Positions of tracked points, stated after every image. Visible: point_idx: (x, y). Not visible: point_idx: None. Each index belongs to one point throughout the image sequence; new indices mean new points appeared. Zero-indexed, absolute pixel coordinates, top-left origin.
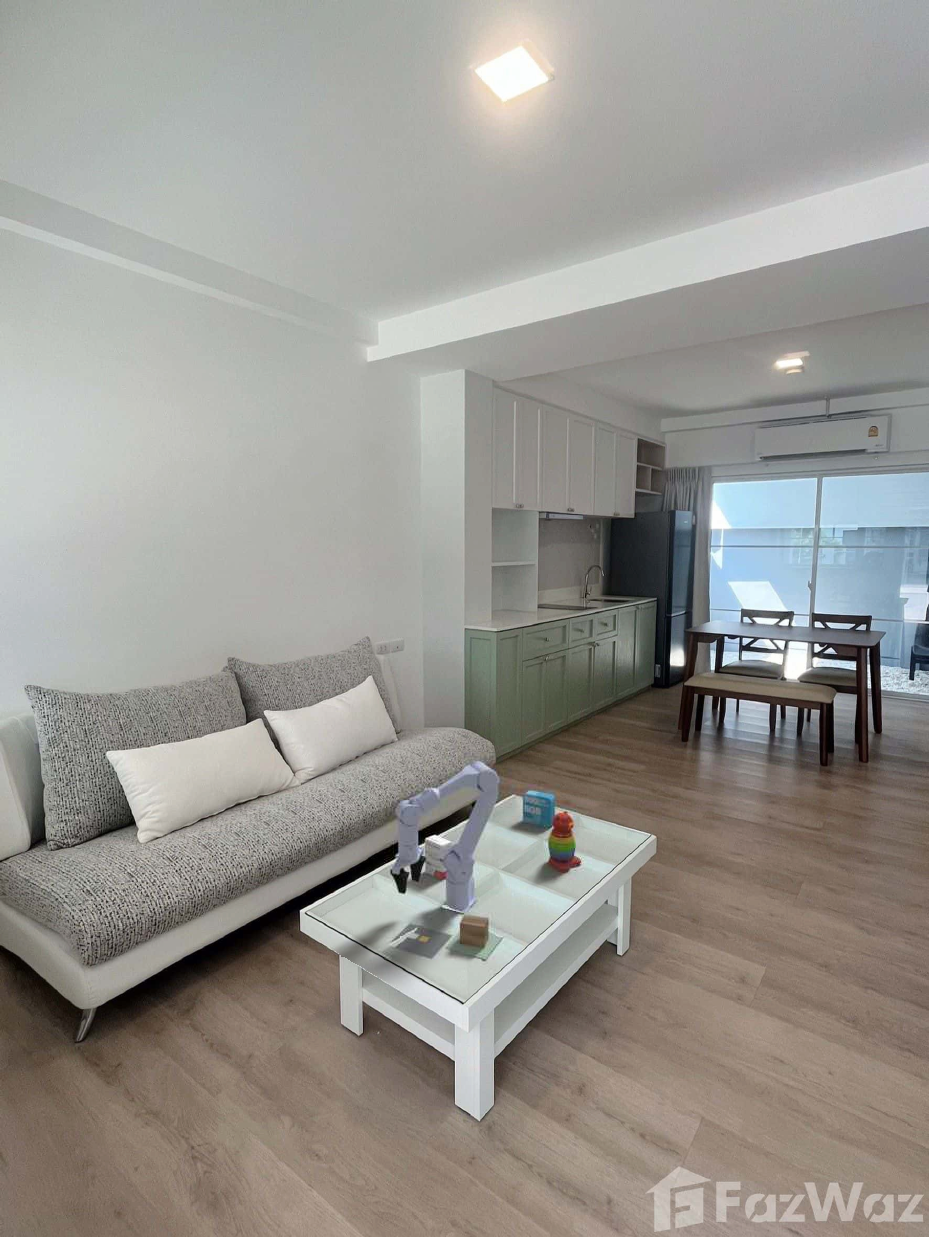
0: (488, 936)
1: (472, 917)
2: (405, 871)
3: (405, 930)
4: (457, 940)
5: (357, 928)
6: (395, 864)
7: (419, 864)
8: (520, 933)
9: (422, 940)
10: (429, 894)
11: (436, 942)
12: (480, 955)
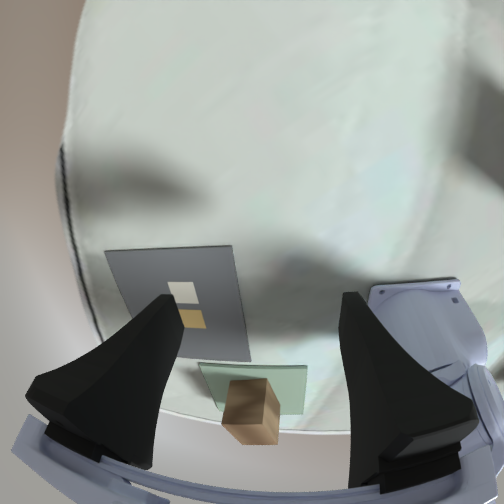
0: (279, 408)
1: (260, 433)
2: (129, 459)
3: (187, 257)
4: (237, 374)
5: (100, 106)
6: (41, 469)
7: (353, 449)
8: (325, 420)
9: (184, 318)
10: (446, 204)
11: (202, 345)
12: (222, 405)
